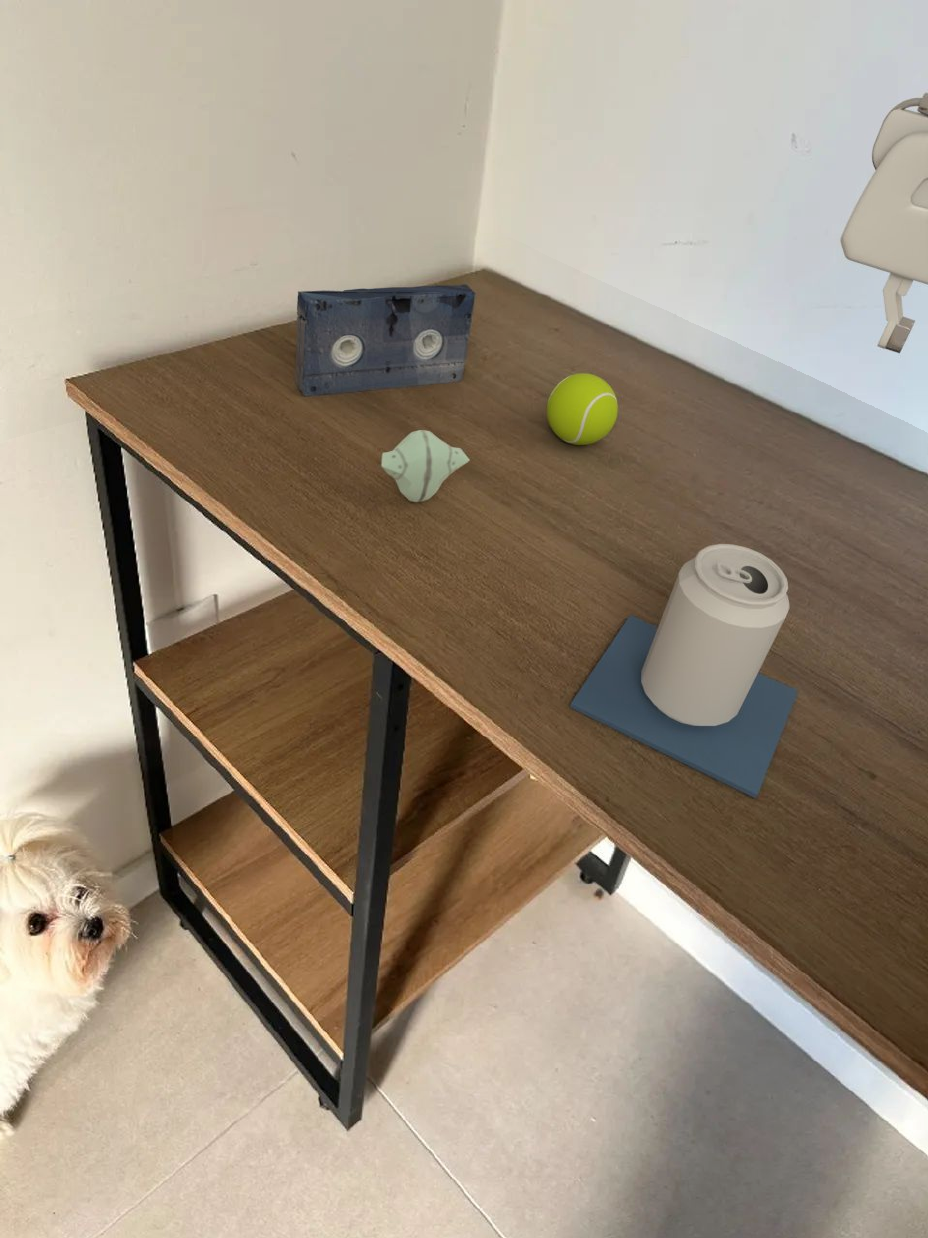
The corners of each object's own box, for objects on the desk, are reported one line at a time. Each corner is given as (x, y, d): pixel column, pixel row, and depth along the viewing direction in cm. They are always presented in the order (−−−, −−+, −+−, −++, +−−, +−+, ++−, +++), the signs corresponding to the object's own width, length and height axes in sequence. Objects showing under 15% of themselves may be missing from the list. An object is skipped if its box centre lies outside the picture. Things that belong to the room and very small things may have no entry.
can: (746, 740, 66) (812, 614, 58) (644, 728, 66) (696, 599, 58) (726, 666, 72) (784, 542, 64) (631, 655, 71) (678, 528, 63)
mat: (795, 695, 71) (798, 690, 71) (755, 799, 63) (757, 794, 62) (628, 619, 75) (630, 614, 75) (569, 707, 67) (570, 702, 66)
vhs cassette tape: (454, 370, 103) (467, 282, 96) (465, 383, 101) (479, 294, 95) (292, 382, 96) (295, 288, 89) (301, 397, 94) (304, 302, 87)
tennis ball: (621, 448, 96) (639, 386, 91) (574, 465, 92) (590, 401, 87) (574, 416, 99) (589, 355, 95) (527, 431, 95) (540, 368, 91)
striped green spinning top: (378, 516, 81) (385, 449, 76) (366, 489, 83) (372, 423, 79) (465, 509, 83) (476, 444, 79) (450, 483, 86) (460, 419, 82)
